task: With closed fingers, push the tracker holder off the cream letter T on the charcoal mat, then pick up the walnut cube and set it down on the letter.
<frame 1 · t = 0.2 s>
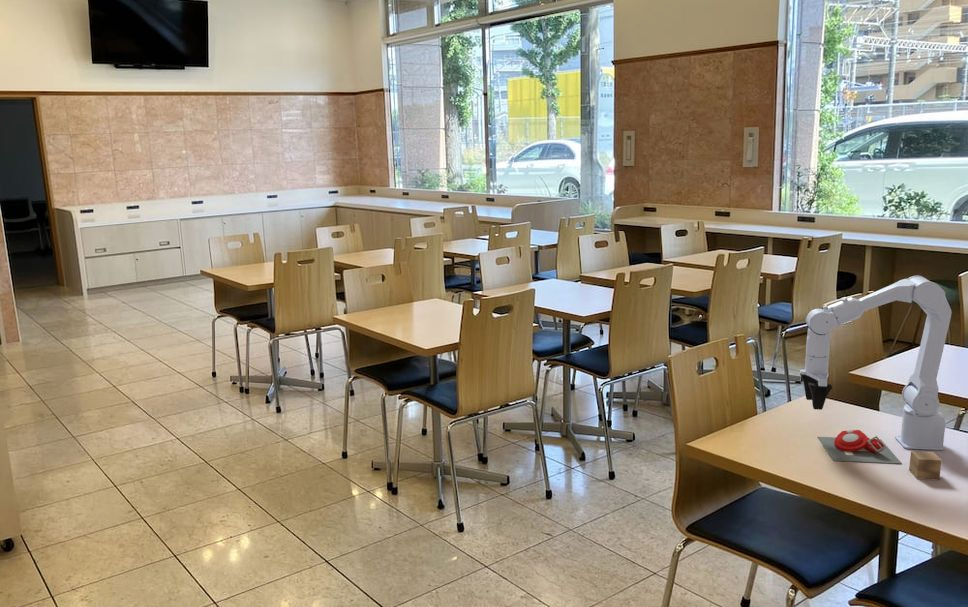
hand: (814, 404, 213), 10 cm above the table, tool pointing down, fingers open, 7 cm apart
tracker holder: (857, 449, 207), on the table, touching letter mat
walnut cube: (923, 475, 191), on the table
letter mat: (857, 450, 207), on the table
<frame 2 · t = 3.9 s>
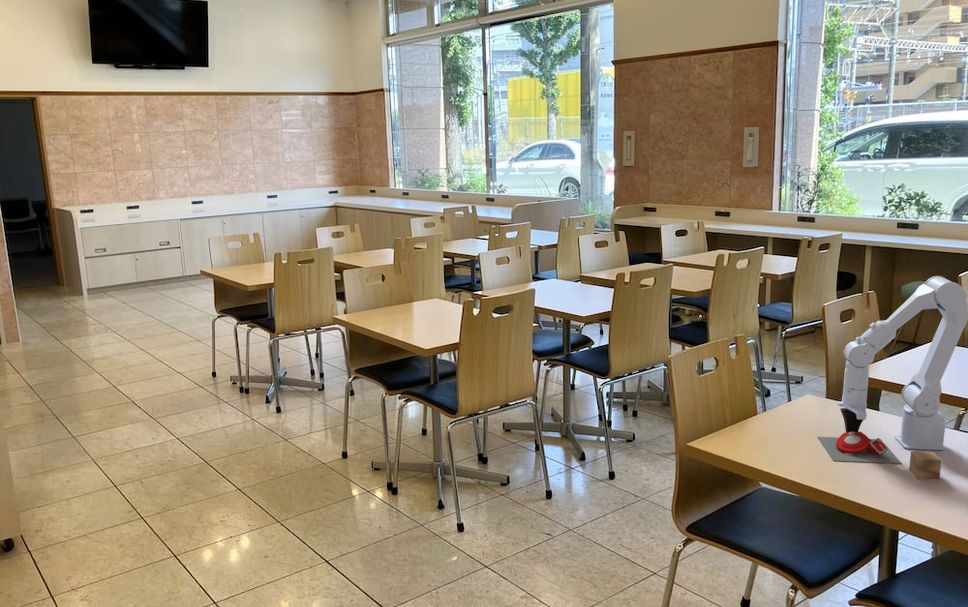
hand: (851, 436, 212), 1 cm above the table, tool pointing down, fingers closed
tracker holder: (859, 451, 205), on the table, touching gripper, letter mat
everything else where it was.
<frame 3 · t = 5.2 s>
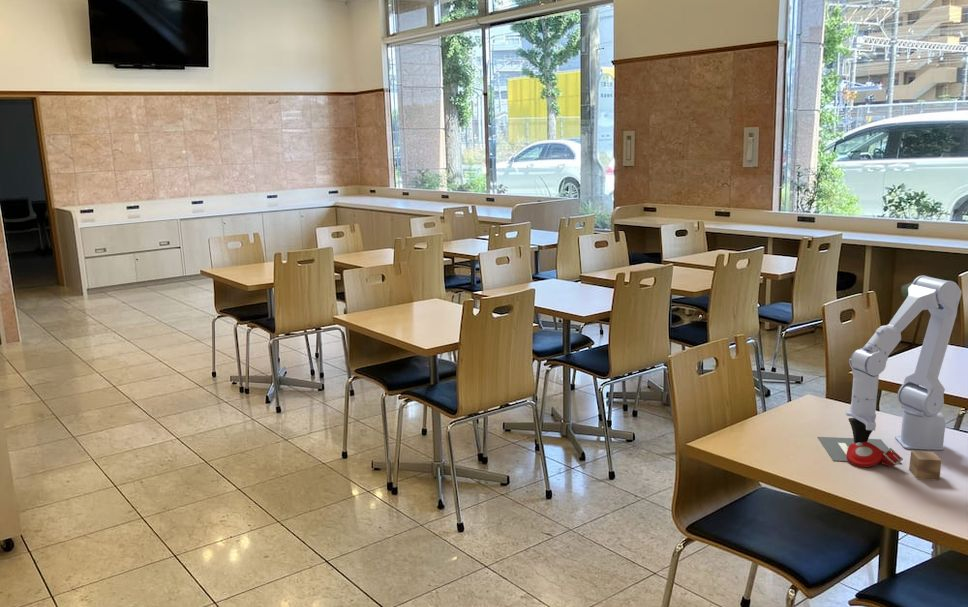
hand: (859, 447, 205), 1 cm above the table, tool pointing down, fingers closed
tracker holder: (871, 463, 198), on the table
everything else where it was.
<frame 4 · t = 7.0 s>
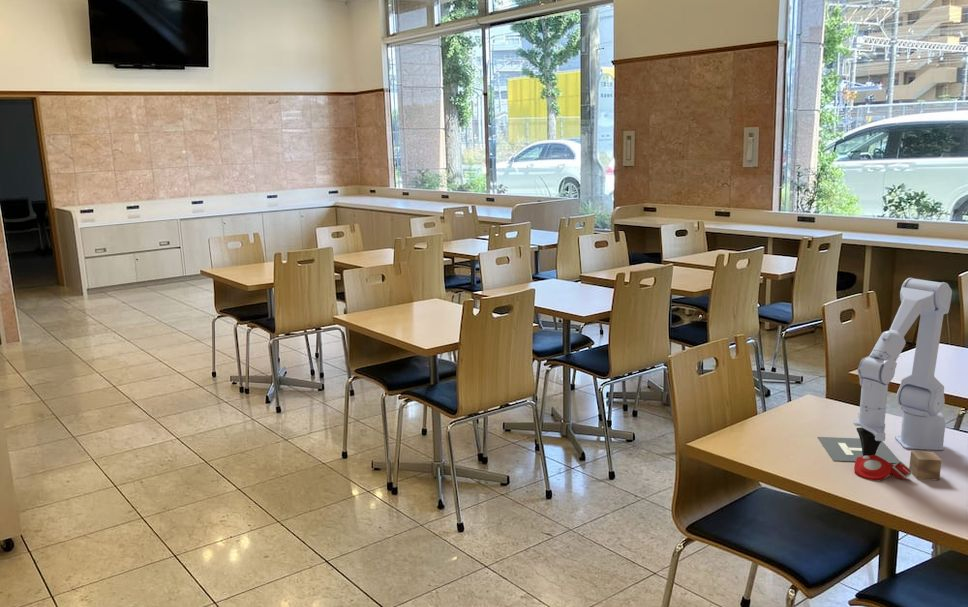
hand: (868, 457, 198), 1 cm above the table, tool pointing down, fingers closed
tracker holder: (880, 477, 192), on the table
everything else where it was.
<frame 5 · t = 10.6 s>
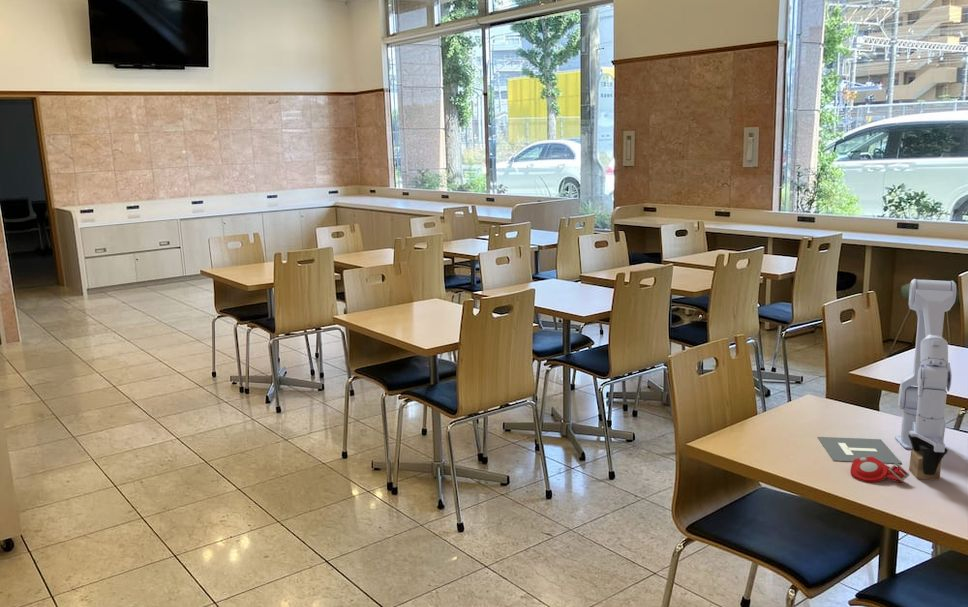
hand: (924, 469, 191), 1 cm above the table, tool pointing down, fingers closed on walnut cube, 5 cm apart
tracker holder: (876, 479, 190), on the table
walnut cube: (924, 474, 191), on the table, touching gripper
when the fingers open (3 cm above the table, at t = 14.8 s): walnut cube drops 1 cm, resting on letter mat.
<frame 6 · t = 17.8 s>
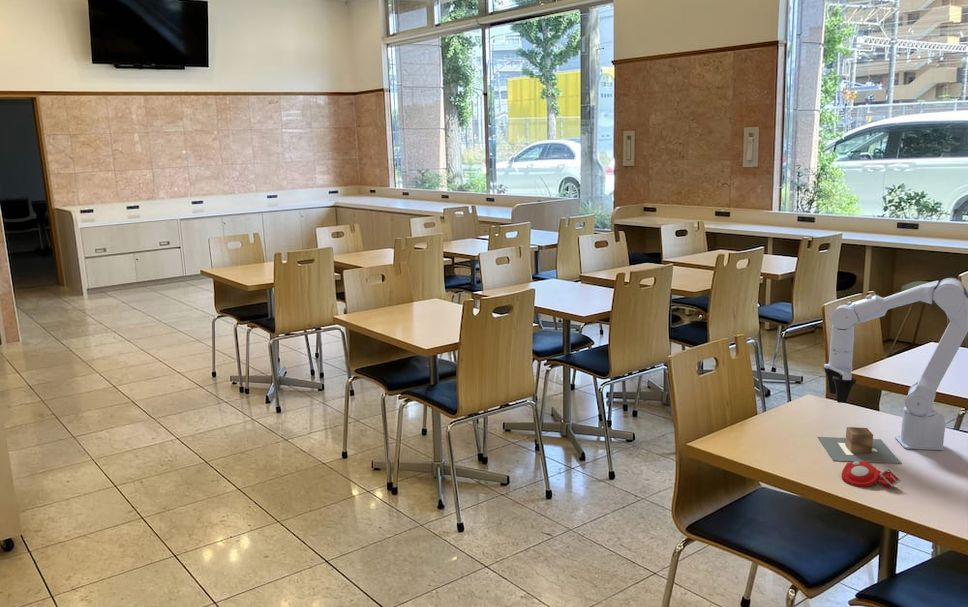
hand: (837, 397, 218), 9 cm above the table, tool pointing down, fingers open, 7 cm apart
tracker holder: (867, 484, 188), on the table
walnut cube: (858, 449, 207), resting on letter mat
at the end: tracker holder inside the target area on the table beside the letter mat (3.5 cm from its centre), on the table; walnut cube 0.1 cm off-centre on the letter mat, point 0.3 cm above the letter mat's base; walnut cube tilted 0° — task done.
